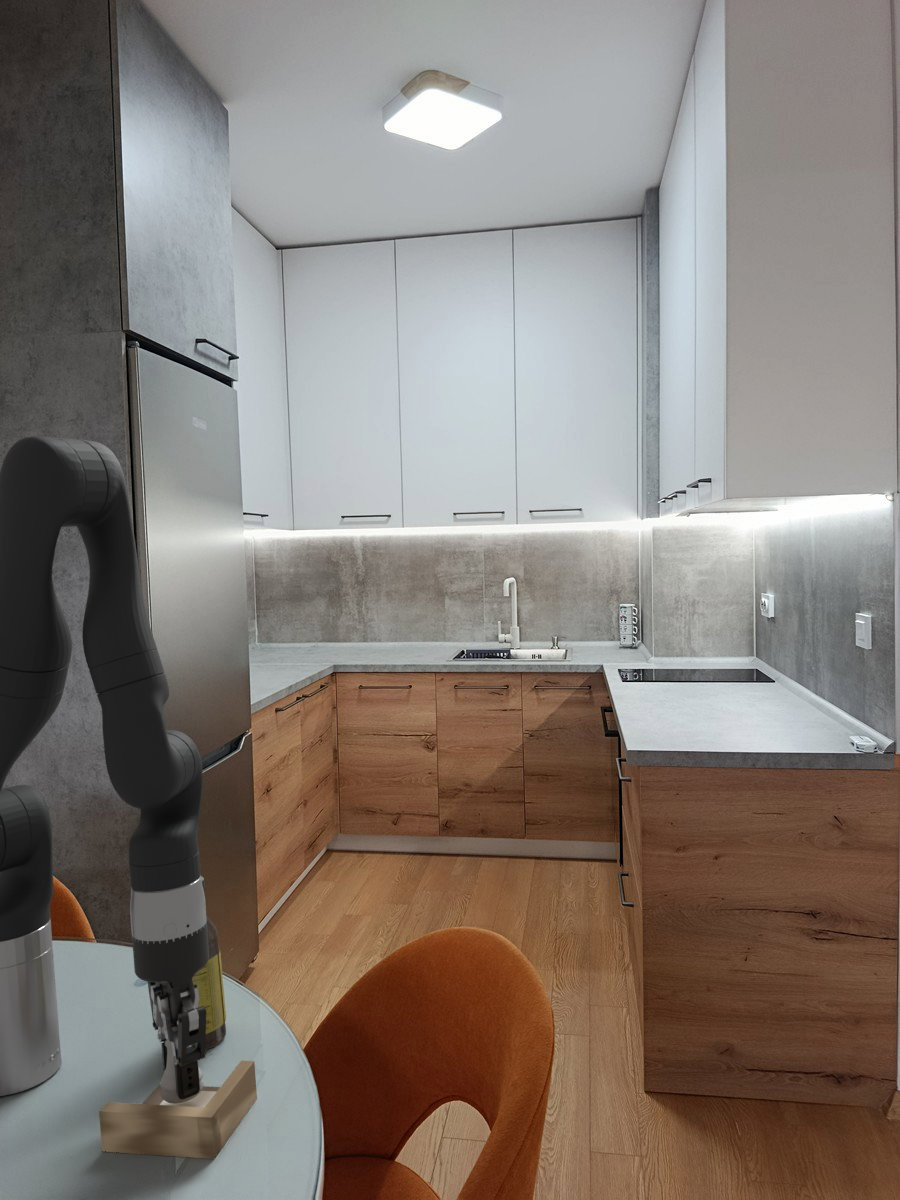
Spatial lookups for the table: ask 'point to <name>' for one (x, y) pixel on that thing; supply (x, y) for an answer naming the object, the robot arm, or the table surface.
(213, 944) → the sauce bottle
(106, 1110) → the wooden tray
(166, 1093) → the rook chess piece
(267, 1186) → the table surface
